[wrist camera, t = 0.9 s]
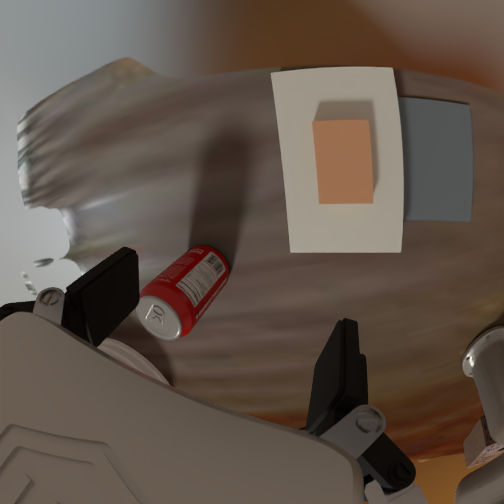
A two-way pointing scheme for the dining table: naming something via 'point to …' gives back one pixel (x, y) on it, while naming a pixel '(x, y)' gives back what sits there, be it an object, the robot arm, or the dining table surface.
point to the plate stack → (131, 358)
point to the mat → (436, 160)
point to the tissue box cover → (481, 445)
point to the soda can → (182, 293)
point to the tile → (343, 161)
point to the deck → (304, 162)
